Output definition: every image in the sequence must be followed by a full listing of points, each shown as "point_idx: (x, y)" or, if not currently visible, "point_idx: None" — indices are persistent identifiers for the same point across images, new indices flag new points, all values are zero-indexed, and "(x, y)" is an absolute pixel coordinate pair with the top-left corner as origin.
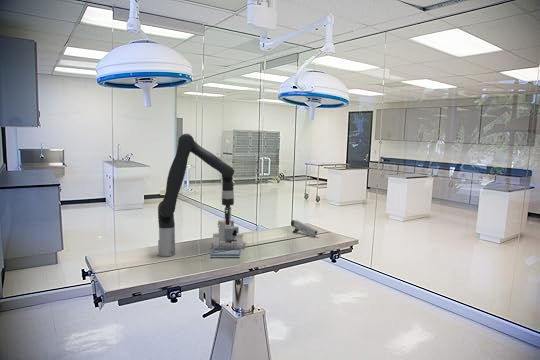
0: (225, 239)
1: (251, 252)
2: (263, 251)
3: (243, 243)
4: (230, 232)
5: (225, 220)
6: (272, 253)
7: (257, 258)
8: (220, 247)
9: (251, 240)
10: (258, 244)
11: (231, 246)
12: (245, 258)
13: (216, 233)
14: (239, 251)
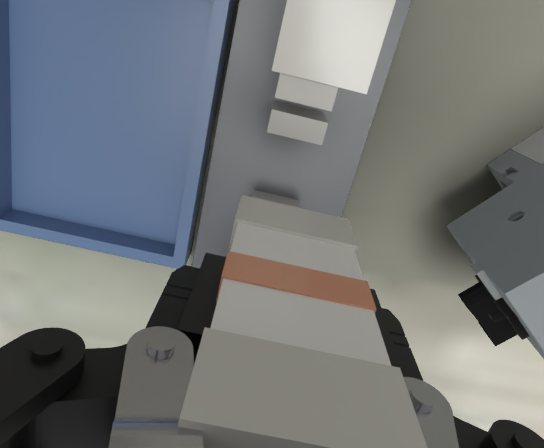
0: (520, 171)
1: None
2: None
3: None
4: (488, 261)
5: (217, 298)
6: None
7: (9, 330)
8: (278, 79)
9: (509, 384)
10: None
11: (252, 195)
12: (7, 254)
13: (338, 34)
14: (69, 239)
